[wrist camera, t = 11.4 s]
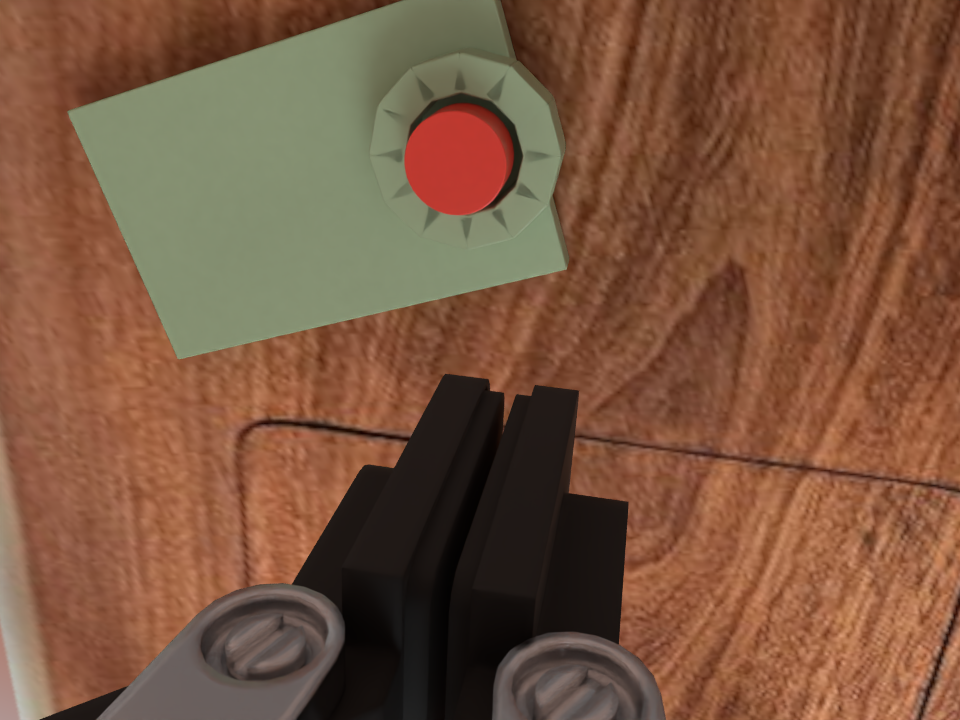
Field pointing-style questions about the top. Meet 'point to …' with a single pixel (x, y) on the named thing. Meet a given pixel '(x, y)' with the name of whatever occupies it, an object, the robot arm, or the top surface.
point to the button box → (323, 175)
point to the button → (459, 158)
